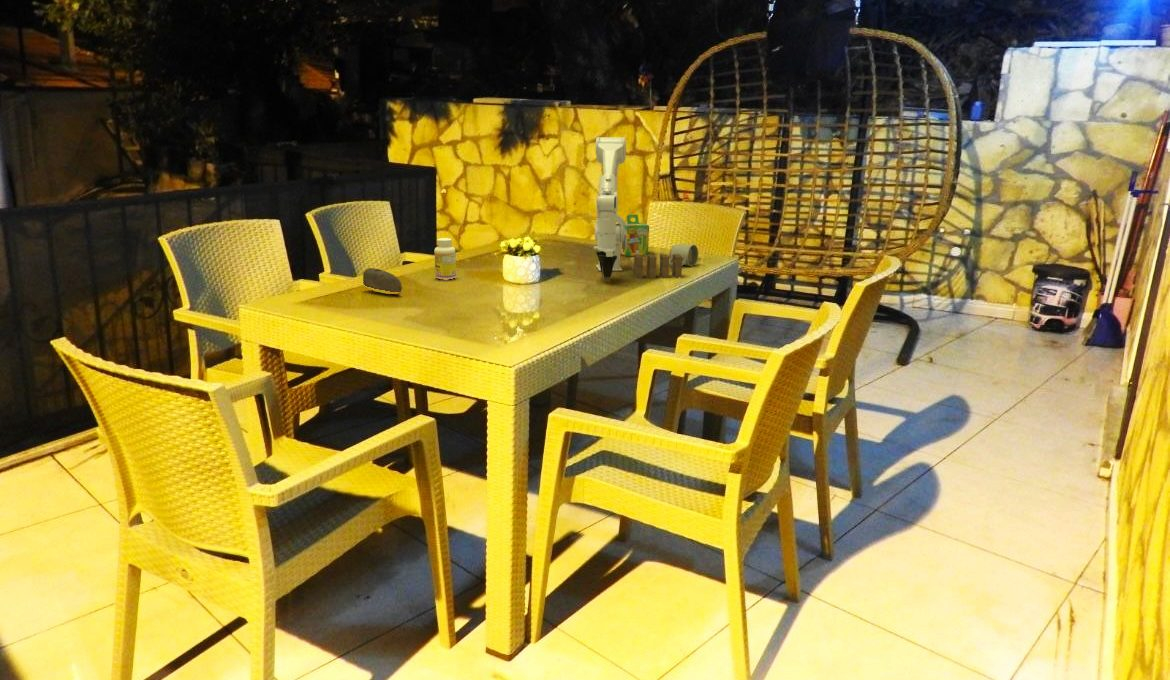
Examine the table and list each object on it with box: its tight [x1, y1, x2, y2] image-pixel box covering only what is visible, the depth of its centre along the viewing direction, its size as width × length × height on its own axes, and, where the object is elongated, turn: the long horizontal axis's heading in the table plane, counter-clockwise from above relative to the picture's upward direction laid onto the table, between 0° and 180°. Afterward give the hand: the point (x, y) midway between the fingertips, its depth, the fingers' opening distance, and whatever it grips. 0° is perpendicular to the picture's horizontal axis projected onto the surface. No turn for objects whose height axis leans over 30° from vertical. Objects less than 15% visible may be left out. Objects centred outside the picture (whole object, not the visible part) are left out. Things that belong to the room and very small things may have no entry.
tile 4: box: [659, 253, 670, 279], centre depth 278 cm, size 5×2×7 cm, turn 7°
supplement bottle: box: [433, 237, 457, 280], centre depth 272 cm, size 7×7×13 cm
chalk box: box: [617, 214, 650, 257], centre depth 317 cm, size 9×9×15 cm
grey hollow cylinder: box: [669, 243, 699, 268], centre depth 297 cm, size 11×8×8 cm
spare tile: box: [601, 268, 611, 283], centre depth 270 cm, size 5×2×7 cm, turn 7°
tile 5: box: [671, 254, 683, 279], centre depth 279 cm, size 5×2×7 cm, turn 7°
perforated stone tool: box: [362, 267, 403, 293], centre depth 251 cm, size 15×5×7 cm, turn 51°
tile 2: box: [633, 255, 644, 278], centre depth 277 cm, size 5×2×7 cm, turn 7°
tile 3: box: [646, 253, 657, 279], centre depth 278 cm, size 5×2×7 cm, turn 7°
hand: (606, 275), depth 271 cm, fingers closed on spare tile, 5 cm apart
